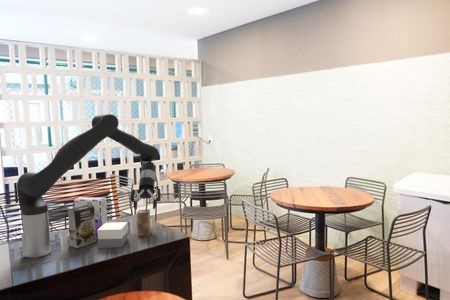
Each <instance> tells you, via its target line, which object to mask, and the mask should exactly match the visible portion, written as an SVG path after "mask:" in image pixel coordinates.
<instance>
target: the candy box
mask: <svg viewBox="0 0 450 300" xmlns="http://www.w3.org/2000/svg"><path fill="white" fill-rule="evenodd" d="M85 205H88V206H93V207H94V212H95V231H96V235H98V232H97V230H98V229H99V228H100V227H101V226H102V225H103V224H105V223H108V213H107V198H106V197H87V196H85V197H83V196H79V197H77V198H75V199H73V208H76V207H80V206H85Z"/></svg>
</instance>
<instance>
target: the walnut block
mask: <svg viewBox="0 0 450 300" xmlns="http://www.w3.org/2000/svg"><path fill="white" fill-rule="evenodd" d="M150 210H151V209H149V208H148V209H139V210H138V211H137V213H136V216H137V237H149V236H150V235H151V231H152V230H151V214H150V213H151V211H150Z"/></svg>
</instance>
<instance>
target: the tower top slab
mask: <svg viewBox="0 0 450 300" xmlns="http://www.w3.org/2000/svg"><path fill="white" fill-rule="evenodd" d="M97 232H98V234H97V240H98V239H122V238H123V236H124V235H125V234H126V233H127V234H128V232H129V224H128V222H127V221H126V222H125V221H124V222H120V221H119V222H117V221H116V222H107V223H105V224H103V225H102V226H101V227H100V228H99V229H98V230H97Z"/></svg>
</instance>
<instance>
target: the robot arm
mask: <svg viewBox="0 0 450 300" xmlns="http://www.w3.org/2000/svg"><path fill="white" fill-rule="evenodd" d="M118 127H119V119H118V117H117V116H116V115H115V114H111V113H104V114H98V115H95V116H94V117H93V118H92V120H91V128H90V129H88V130H86V131H85V132H82V133H80V134H79V135H76V136H75V137H72V138H71V139H70V140H68V141H67V142H66V143H65V144H64V145H62V146H60V148H59V149H58V151H57V152H56V153H55V156H54V158H53V159H52V161H51V162H50V163H49V164H48V165H46V167H45V166H44V168H43V169H41V170H39V171H38V172H24V173H23V174H21V175H20V176H19V178H18V179H17V183H16V190H17V192H16V193H17V198H18V199H17V200H18V205H19V207H20V210H21V215H22V216H21V217H22V229H23V232H21V244H22V257H23V258H24V257H26V258H30V259H33V258H42V257H44V256H46V255H49V254H51V252H52V245H51V233H50V221H49V220H50V219H49V206H48V204H47V202H46V201H45V200H44V198H43V196H44V195H45V194H46V193H47V192H49V191H50V190H51V188H52V187H54V185H55V184H56V183H57V182H58V180H59V179H61V178H62V177H63V176H64V175H65V174H66V173H67V172H68V171H70V170H71V169H72V168H73V167H74V166H75V165H76V164H78V163H79V162H80V161H81V160H82V159H83V158H85V156H86V155H87V154H89V153H90V152H92V150H93V149H94V148H96V146H97V145H98V144H100V143H101V142H102V141H103V140H104V139H106V138H109V139H111V140H113V141H115V142H116V143H118V144H120V145H121V146H123V147H124V148H127V149H128V150H129V151H131V152H132V153H134V154H136V155H139V157H138V158H139V163H140V166H141V168H140V175H139V182H138V183H139V185H138V189H137V190H135V189H132V190H131V193H130V198H129V199H130V202H131V203H133V208H134V210H136V211H137V210H138V203H139V202H140V201H141V200H143V199H144V200H145V199H147V200H148V199H151V200H152V210H155V209H156V208H157V202H161V199H162V198H161V196H162V195H161V193H162V192H161V189H160V188H157V189H155V184H156V182H155V181H156V173H155V172H156V165H155V163H154V161H155V160H157V159H159V156H160V151H159V150H158V148H157V147H156V146H153V145H151V144H148V143H146V142H143V141H142V140H140V139H139V138H137V137H136V136H134V135H132V134H130V133H127V132H125V131H123V130H121V129H119V128H118ZM155 193H156V195H157V197H156V196H155ZM135 196H136V197H135Z"/></svg>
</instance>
